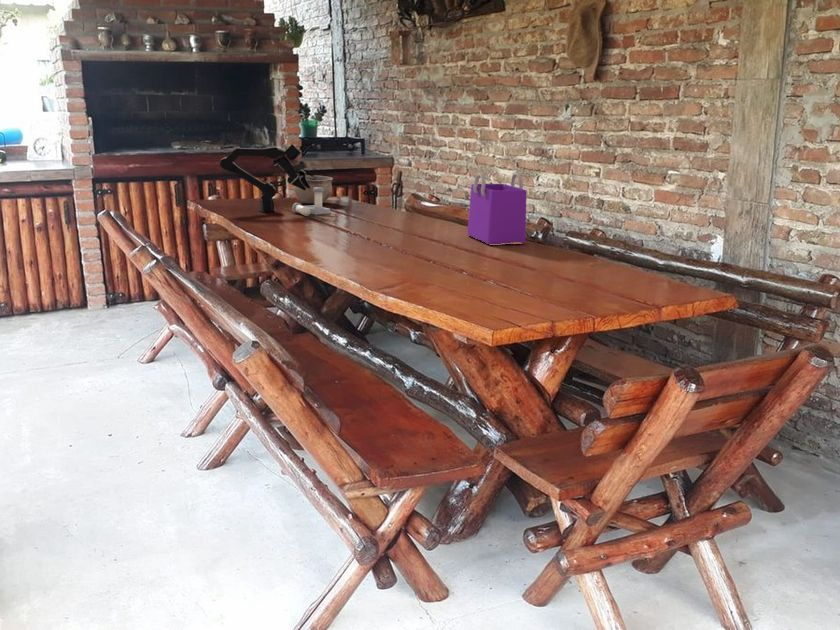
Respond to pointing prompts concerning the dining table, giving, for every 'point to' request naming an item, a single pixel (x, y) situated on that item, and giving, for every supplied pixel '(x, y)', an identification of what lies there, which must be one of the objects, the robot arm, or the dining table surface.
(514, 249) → the dining table surface
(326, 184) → the ceramic bowl
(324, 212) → the housing
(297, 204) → the white plastic cylinder
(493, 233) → the shopping bag
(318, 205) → the translucent upright cylinder
